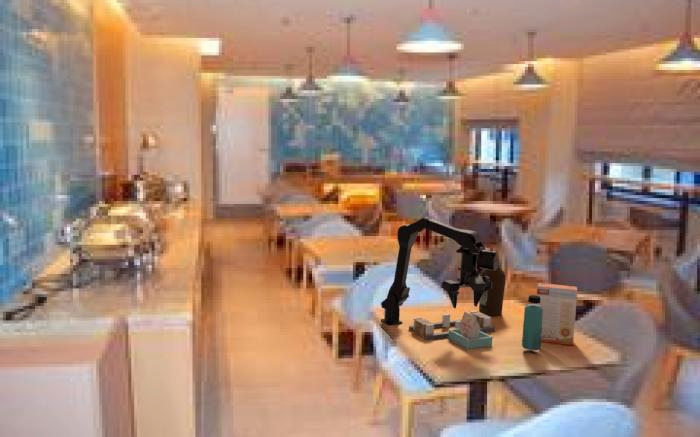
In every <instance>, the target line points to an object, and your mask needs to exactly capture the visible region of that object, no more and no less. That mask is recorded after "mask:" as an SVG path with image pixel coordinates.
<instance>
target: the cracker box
mask: <svg viewBox="0 0 700 437" xmlns="http://www.w3.org/2000/svg"><path fill="white" fill-rule="evenodd" d="M536 296H539V297H540V303H535V304H536V305H539V306H541V307H542V309H543V316H542V323H543V324H542V332H541V333H542V334H541V338H542V339H541V342H544V343H552V344H561V345H567V346H573V345H574V338H575V336H574V334H575V326H576V313H577V300H578V286H571V285H561V284H552V283H544V282H542V283H541V282H538V283H537V288H536Z"/></svg>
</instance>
